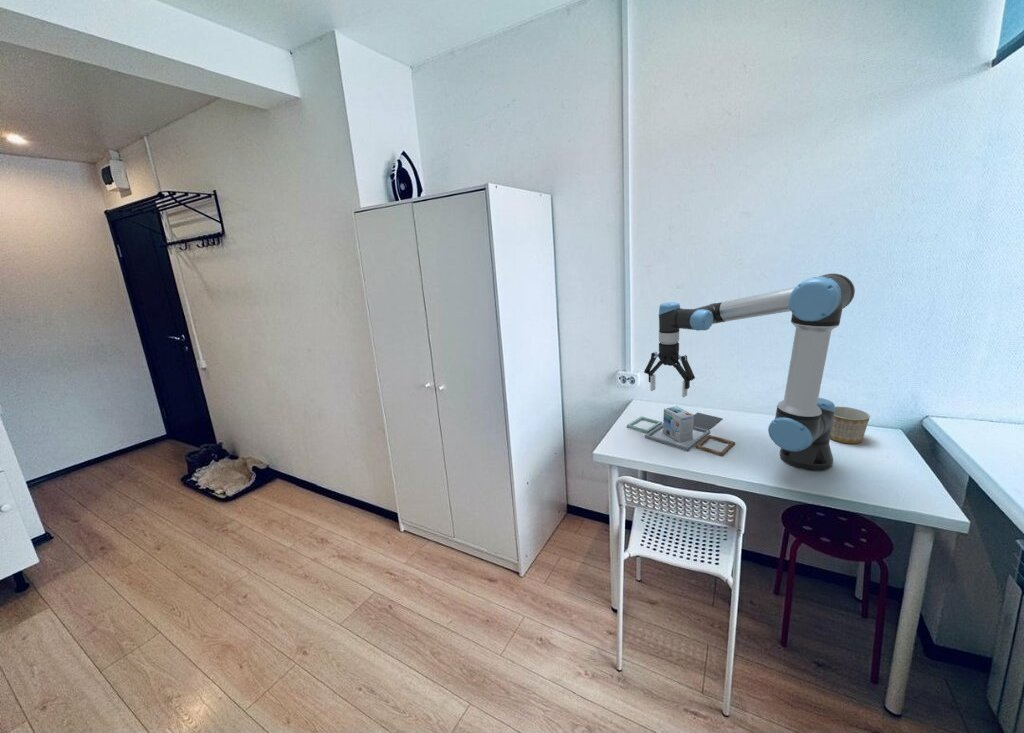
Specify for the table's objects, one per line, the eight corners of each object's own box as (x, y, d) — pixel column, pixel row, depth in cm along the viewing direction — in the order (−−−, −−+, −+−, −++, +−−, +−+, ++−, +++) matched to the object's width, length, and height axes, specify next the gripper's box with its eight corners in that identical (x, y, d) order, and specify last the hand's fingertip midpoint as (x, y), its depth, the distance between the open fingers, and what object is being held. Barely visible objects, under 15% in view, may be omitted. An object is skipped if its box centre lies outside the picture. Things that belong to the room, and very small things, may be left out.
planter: (858, 449, 147) (863, 422, 145) (817, 438, 157) (821, 413, 154) (869, 438, 154) (874, 412, 152) (829, 427, 164) (833, 403, 161)
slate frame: (710, 433, 168) (710, 430, 167) (687, 451, 155) (687, 448, 155) (668, 421, 181) (668, 419, 180) (644, 437, 168) (644, 435, 168)
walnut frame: (735, 444, 157) (735, 441, 157) (722, 456, 149) (722, 453, 149) (708, 437, 164) (708, 434, 164) (695, 448, 157) (695, 445, 156)
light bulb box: (662, 432, 172) (662, 408, 169) (675, 429, 174) (676, 405, 171) (679, 442, 162) (680, 417, 159) (693, 439, 164) (694, 414, 161)
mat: (722, 419, 179) (722, 418, 179) (708, 430, 170) (708, 430, 169) (697, 413, 187) (697, 412, 187) (682, 424, 178) (682, 423, 177)
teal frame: (661, 424, 179) (662, 421, 178) (647, 433, 171) (647, 431, 171) (641, 418, 186) (641, 416, 186) (626, 427, 178) (626, 424, 178)
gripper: (705, 343, 154) (703, 396, 159) (645, 337, 172) (645, 385, 177) (696, 347, 149) (694, 401, 155) (635, 341, 167) (636, 390, 173)
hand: (668, 393), depth 166 cm, fingers open, 13 cm apart
